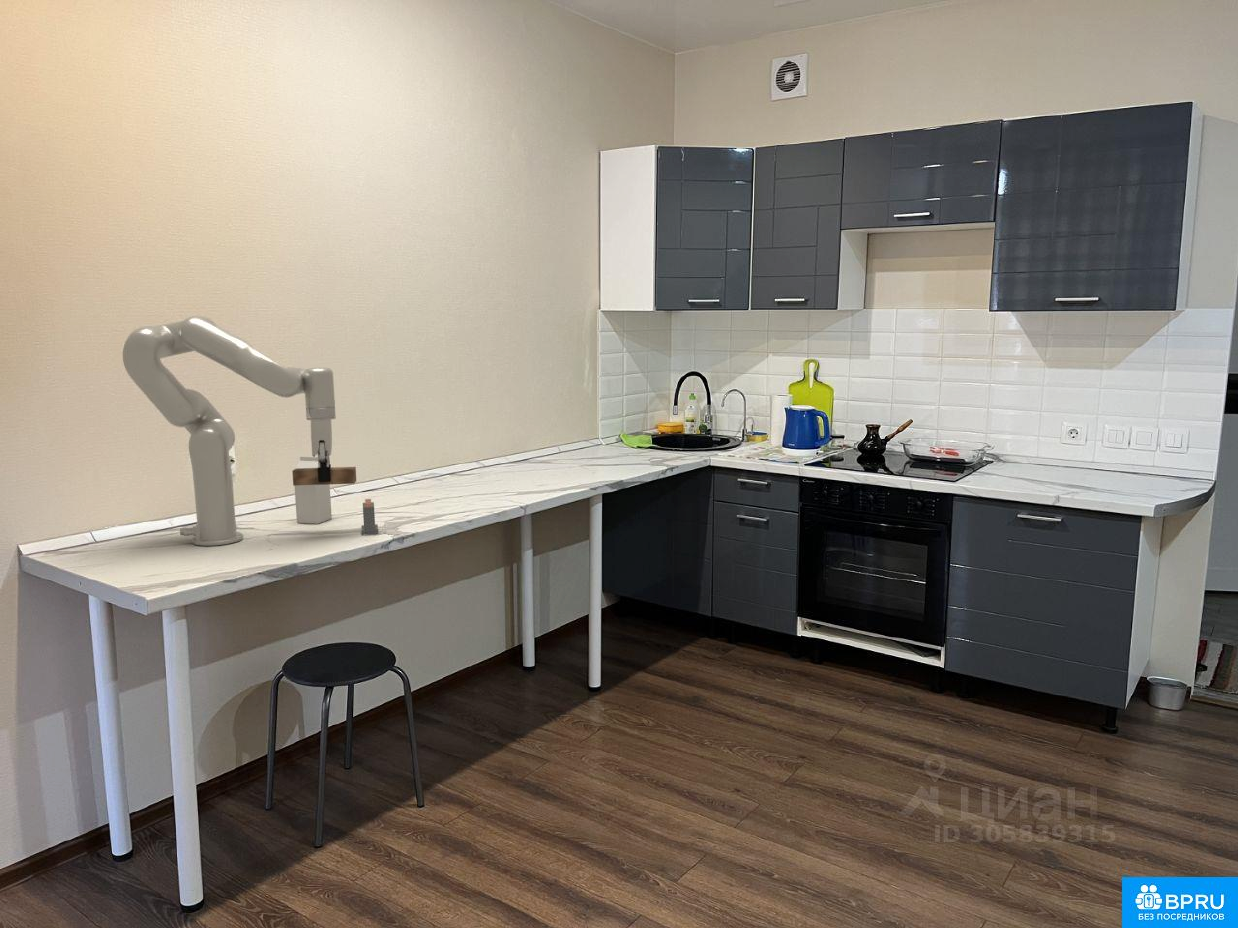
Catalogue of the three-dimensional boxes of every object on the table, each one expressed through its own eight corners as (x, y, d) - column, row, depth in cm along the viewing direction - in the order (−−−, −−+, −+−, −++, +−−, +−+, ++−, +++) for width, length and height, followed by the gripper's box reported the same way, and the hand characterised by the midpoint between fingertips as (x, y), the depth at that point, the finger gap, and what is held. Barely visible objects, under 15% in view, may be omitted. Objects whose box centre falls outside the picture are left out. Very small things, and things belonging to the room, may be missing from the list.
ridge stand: (361, 534, 259) (359, 504, 258) (361, 529, 266) (359, 499, 265) (378, 533, 260) (376, 503, 259) (377, 528, 267) (376, 498, 266)
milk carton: (317, 524, 273) (313, 459, 270) (296, 523, 275) (292, 458, 272) (332, 519, 280) (328, 455, 277) (311, 517, 282) (307, 455, 279)
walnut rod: (293, 485, 255) (292, 470, 255) (296, 482, 259) (295, 468, 258) (354, 483, 257) (353, 469, 256) (356, 481, 261) (355, 466, 260)
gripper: (307, 411, 262) (312, 476, 265) (304, 417, 246) (309, 486, 249) (336, 410, 264) (340, 474, 267) (334, 416, 248) (338, 484, 251)
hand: (325, 479), depth 258 cm, fingers closed on walnut rod, 4 cm apart
